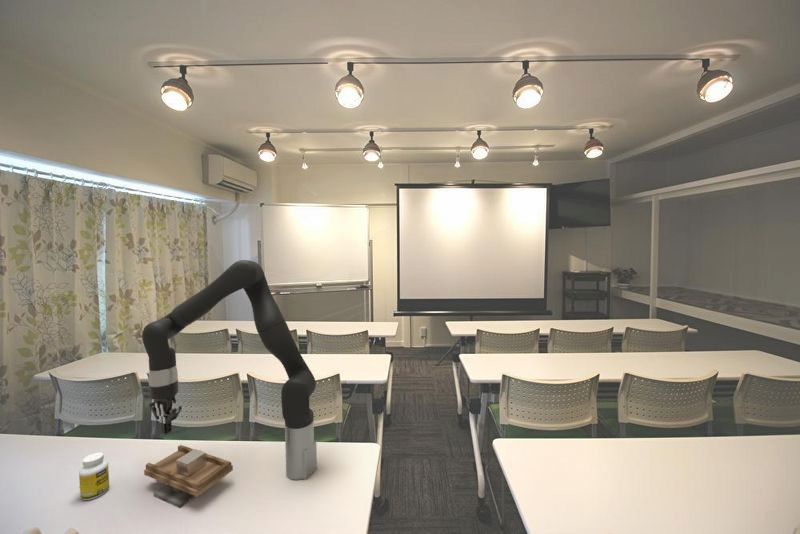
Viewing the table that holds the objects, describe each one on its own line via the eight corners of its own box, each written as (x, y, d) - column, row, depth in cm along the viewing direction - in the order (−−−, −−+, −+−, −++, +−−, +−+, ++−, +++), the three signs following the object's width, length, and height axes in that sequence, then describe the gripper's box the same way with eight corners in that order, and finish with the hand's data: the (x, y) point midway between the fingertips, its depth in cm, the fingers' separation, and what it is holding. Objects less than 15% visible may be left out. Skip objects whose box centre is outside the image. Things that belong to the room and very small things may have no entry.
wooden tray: (235, 481, 105) (235, 458, 104) (194, 514, 92) (193, 488, 91) (185, 462, 114) (184, 441, 113) (141, 490, 101) (140, 466, 100)
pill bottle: (91, 503, 96) (89, 465, 95) (74, 499, 97) (72, 462, 96) (115, 487, 102) (113, 451, 101) (98, 484, 103) (96, 449, 103)
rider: (206, 464, 104) (205, 452, 103) (187, 476, 98) (187, 464, 98) (195, 460, 105) (195, 448, 105) (176, 472, 100) (176, 460, 100)
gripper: (189, 379, 105) (191, 430, 106) (162, 373, 110) (165, 422, 111) (165, 388, 98) (168, 443, 99) (137, 382, 103) (141, 434, 104)
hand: (166, 432), depth 105 cm, fingers closed
